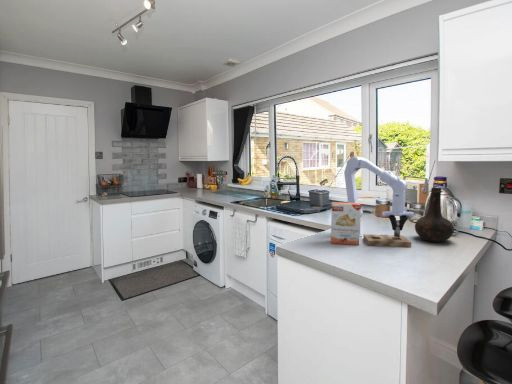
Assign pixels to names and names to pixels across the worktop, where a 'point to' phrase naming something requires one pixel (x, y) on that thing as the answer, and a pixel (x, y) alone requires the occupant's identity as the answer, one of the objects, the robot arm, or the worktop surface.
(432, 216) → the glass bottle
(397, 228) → the drill bit
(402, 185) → the robot arm
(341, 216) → the cracker box
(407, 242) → the block
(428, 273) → the worktop surface
